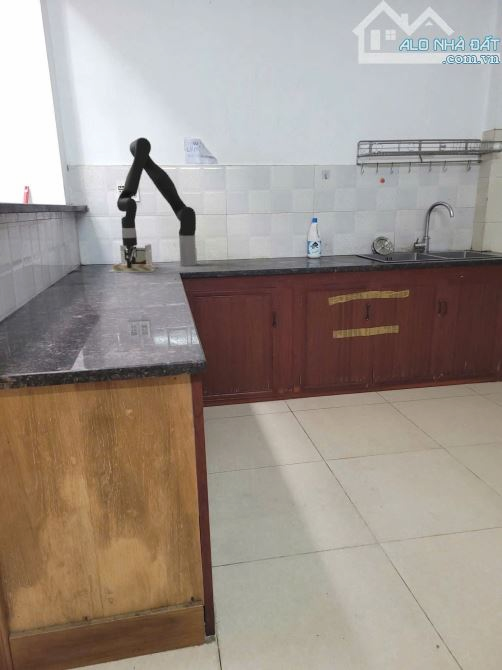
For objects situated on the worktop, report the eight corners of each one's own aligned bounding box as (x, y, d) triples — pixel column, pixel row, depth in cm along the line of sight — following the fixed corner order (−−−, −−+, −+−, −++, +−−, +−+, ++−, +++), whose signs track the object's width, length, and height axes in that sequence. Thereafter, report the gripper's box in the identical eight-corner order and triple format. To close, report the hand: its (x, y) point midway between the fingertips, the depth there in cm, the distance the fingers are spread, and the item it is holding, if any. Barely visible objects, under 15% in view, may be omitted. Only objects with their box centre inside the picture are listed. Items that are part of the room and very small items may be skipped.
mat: (155, 269, 262) (155, 269, 262) (151, 272, 254) (151, 271, 254) (113, 269, 263) (113, 269, 263) (108, 272, 256) (108, 271, 256)
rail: (150, 269, 259) (150, 264, 259) (149, 270, 257) (149, 265, 256) (115, 269, 261) (114, 264, 260) (113, 270, 258) (112, 265, 257)
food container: (152, 264, 282) (151, 247, 279) (149, 266, 276) (147, 248, 273) (132, 264, 283) (130, 247, 280) (128, 265, 278) (127, 248, 275)
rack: (156, 267, 271) (154, 244, 267) (153, 269, 264) (151, 245, 261) (122, 267, 272) (120, 244, 269) (118, 269, 266) (116, 245, 262)
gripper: (132, 237, 246) (134, 268, 251) (140, 235, 260) (142, 264, 265) (118, 237, 247) (120, 268, 252) (126, 235, 261) (129, 264, 265)
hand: (131, 266), depth 258 cm, fingers open, 8 cm apart
